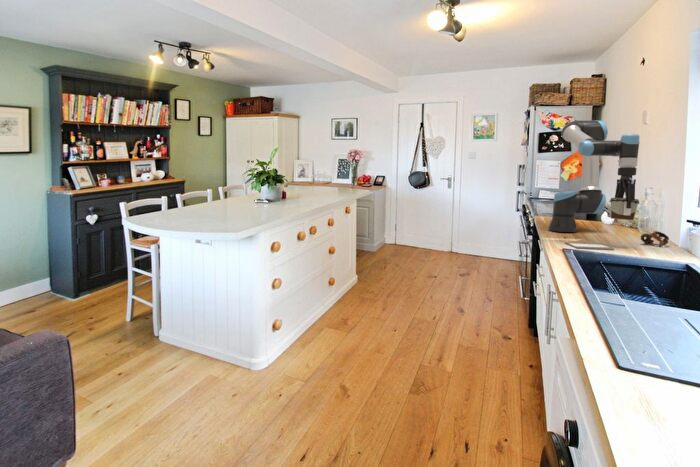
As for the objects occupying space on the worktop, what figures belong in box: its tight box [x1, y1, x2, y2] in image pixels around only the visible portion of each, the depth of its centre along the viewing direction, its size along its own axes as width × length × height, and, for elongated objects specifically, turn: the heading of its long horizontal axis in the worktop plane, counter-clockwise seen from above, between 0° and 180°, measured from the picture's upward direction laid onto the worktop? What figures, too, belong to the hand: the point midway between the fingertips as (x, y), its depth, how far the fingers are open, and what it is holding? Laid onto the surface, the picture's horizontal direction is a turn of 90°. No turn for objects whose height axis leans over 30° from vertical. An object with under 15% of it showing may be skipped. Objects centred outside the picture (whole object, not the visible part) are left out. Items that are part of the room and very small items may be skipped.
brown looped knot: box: [640, 230, 670, 248], centre depth 217 cm, size 12×9×8 cm
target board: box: [564, 242, 615, 251], centre depth 210 cm, size 18×16×1 cm
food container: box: [609, 197, 640, 221], centre depth 209 cm, size 12×6×10 cm, turn 54°
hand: (622, 214), depth 209 cm, fingers closed on food container, 7 cm apart
